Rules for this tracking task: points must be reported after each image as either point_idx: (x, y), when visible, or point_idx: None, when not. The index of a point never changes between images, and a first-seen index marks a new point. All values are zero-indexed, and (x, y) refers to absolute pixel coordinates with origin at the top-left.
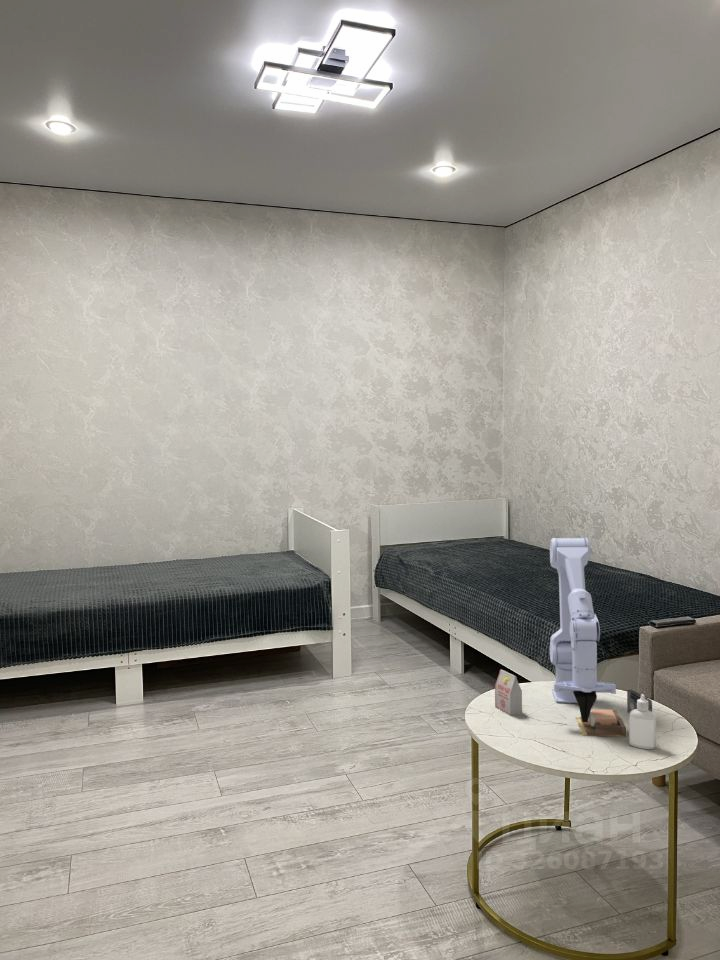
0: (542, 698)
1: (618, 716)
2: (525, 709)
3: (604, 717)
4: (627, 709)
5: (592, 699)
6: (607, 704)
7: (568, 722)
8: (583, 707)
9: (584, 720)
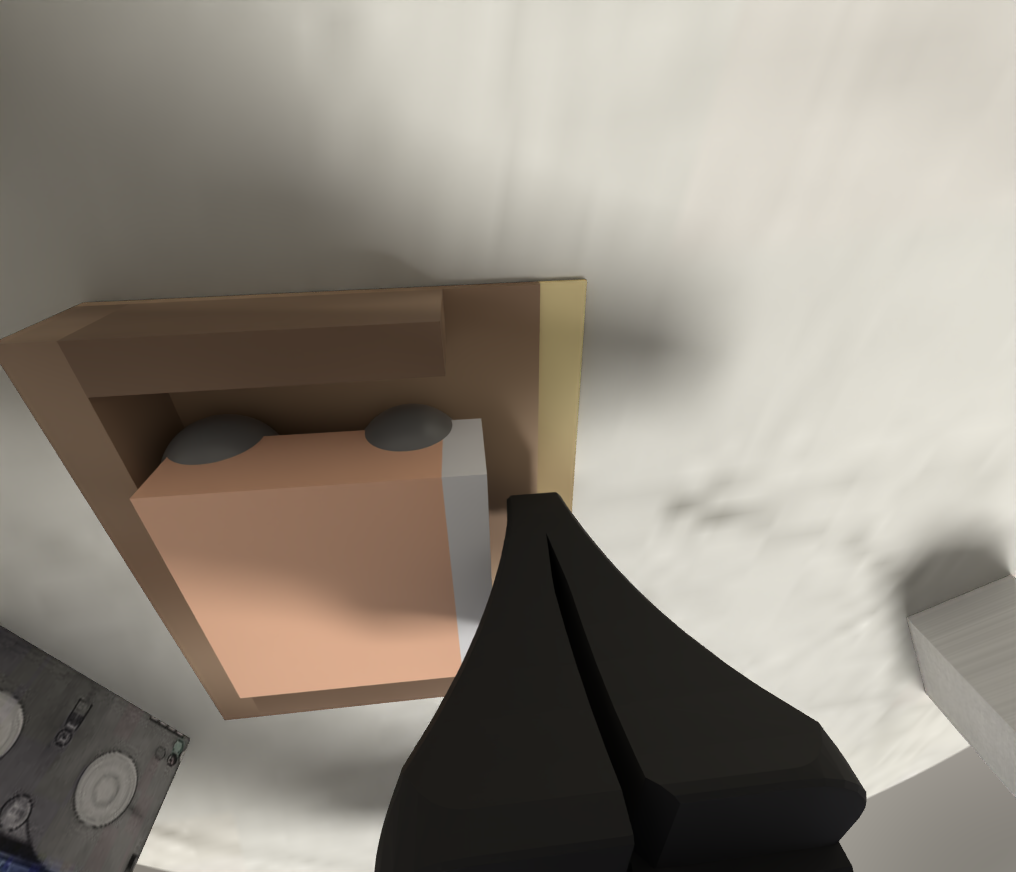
0: None
1: (180, 621)
2: (852, 664)
3: (311, 521)
4: (178, 760)
5: (484, 771)
6: (330, 790)
7: (641, 539)
8: (603, 613)
9: (546, 500)
